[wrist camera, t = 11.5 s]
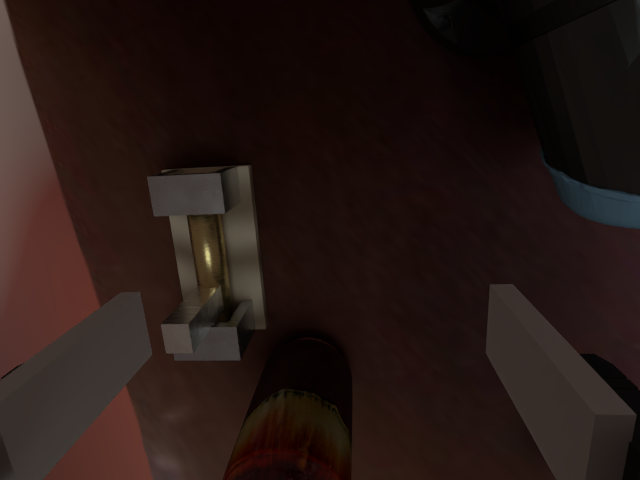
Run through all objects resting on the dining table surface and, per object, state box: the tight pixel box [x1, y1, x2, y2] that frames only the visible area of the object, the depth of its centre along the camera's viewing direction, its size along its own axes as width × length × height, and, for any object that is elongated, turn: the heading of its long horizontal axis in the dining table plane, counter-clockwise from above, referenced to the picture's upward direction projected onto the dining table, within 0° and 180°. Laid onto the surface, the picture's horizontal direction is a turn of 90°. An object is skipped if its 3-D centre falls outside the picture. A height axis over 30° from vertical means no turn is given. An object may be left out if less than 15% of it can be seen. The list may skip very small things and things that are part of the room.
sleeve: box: [147, 167, 241, 216], centre depth 43 cm, size 4×7×6 cm, turn 94°
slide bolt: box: [161, 214, 234, 353], centre depth 42 cm, size 18×4×12 cm, turn 4°
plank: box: [162, 165, 268, 329], centre depth 48 cm, size 20×10×1 cm, turn 4°
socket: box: [174, 300, 256, 360], centre depth 47 cm, size 4×7×7 cm, turn 94°
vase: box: [223, 335, 352, 480], centre depth 40 cm, size 11×11×26 cm
